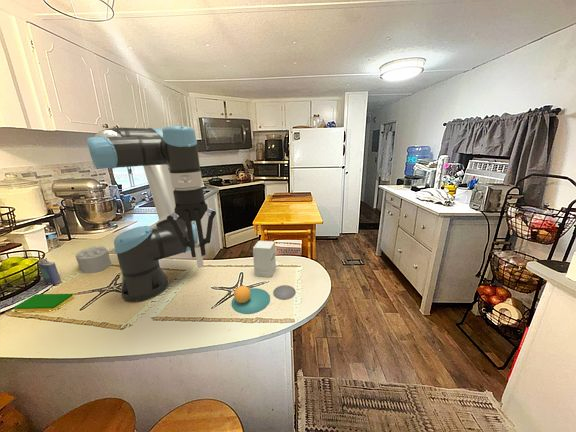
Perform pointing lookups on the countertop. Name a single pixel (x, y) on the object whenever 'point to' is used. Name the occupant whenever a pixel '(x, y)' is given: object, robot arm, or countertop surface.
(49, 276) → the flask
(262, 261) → the supplement box
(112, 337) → the countertop surface
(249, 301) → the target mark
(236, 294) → the ball
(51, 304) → the dish sponge
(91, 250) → the lumpy-topped squat cylinder
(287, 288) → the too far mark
